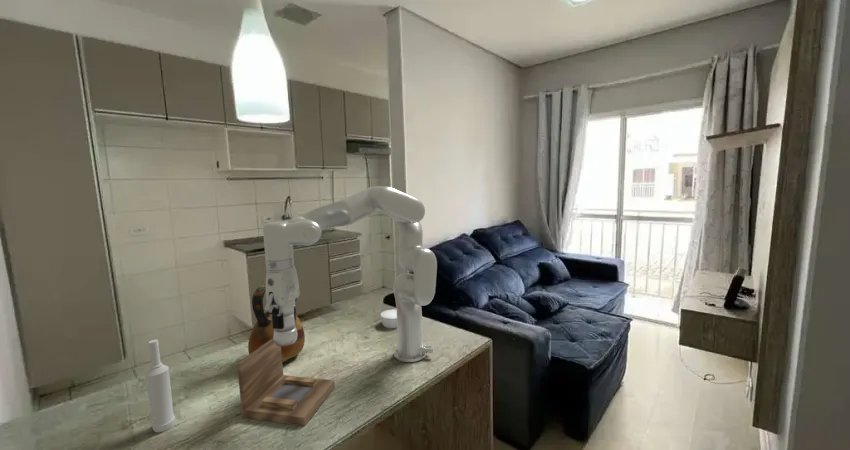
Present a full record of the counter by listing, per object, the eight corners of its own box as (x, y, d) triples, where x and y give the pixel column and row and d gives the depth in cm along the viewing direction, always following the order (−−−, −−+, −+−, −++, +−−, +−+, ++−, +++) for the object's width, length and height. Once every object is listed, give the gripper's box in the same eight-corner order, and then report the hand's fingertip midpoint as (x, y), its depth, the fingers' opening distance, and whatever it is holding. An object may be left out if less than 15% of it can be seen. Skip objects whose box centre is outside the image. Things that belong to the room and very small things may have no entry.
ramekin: (404, 329, 155) (404, 318, 155) (379, 330, 155) (379, 318, 155) (405, 319, 166) (405, 308, 166) (382, 320, 166) (381, 309, 166)
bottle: (180, 419, 99) (169, 336, 95) (167, 432, 94) (155, 345, 90) (161, 420, 98) (150, 337, 95) (147, 433, 93) (135, 346, 90)
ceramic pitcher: (315, 347, 140) (310, 275, 136) (282, 374, 121) (275, 291, 117) (275, 342, 146) (269, 273, 142) (237, 367, 126) (229, 288, 123)
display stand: (334, 387, 112) (332, 339, 110) (305, 426, 95) (300, 369, 93) (280, 381, 116) (276, 335, 114) (241, 417, 99) (236, 363, 97)
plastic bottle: (275, 341, 105) (269, 277, 103) (298, 337, 107) (294, 275, 105) (272, 350, 99) (267, 283, 96) (297, 347, 101) (292, 280, 98)
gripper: (273, 272, 91) (278, 337, 93) (307, 258, 108) (311, 313, 110) (248, 271, 92) (254, 335, 95) (286, 257, 109) (290, 312, 111)
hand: (284, 323), depth 102 cm, fingers closed on plastic bottle, 5 cm apart
